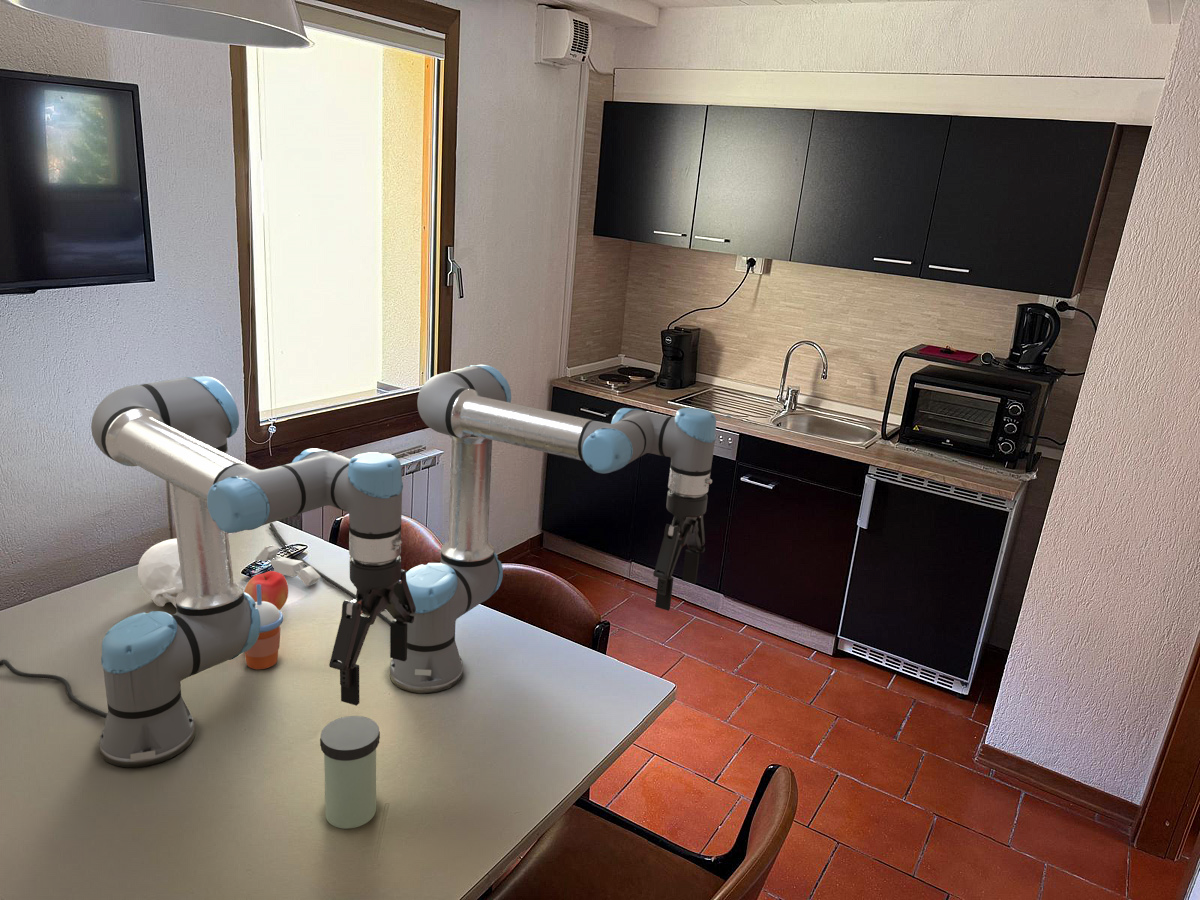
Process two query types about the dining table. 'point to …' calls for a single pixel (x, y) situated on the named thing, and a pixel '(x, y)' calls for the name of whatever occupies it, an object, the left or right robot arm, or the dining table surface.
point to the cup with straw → (265, 635)
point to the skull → (161, 572)
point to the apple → (269, 588)
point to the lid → (349, 738)
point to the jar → (350, 791)
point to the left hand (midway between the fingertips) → (375, 679)
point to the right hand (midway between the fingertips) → (676, 594)
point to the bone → (288, 565)
